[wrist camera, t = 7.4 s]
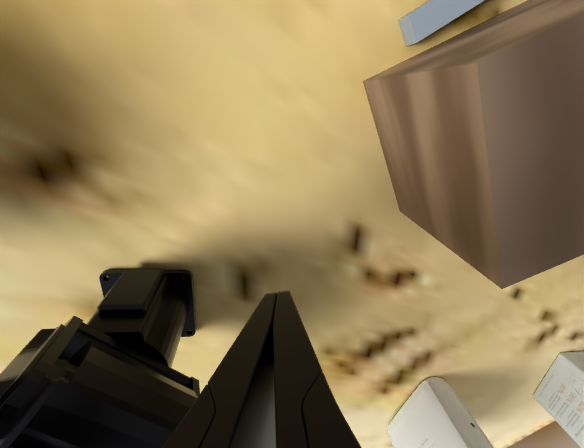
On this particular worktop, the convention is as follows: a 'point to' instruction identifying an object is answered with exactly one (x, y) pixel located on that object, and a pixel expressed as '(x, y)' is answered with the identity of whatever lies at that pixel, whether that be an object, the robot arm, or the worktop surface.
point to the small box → (565, 393)
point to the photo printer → (435, 420)
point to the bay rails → (432, 17)
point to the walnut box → (493, 139)
